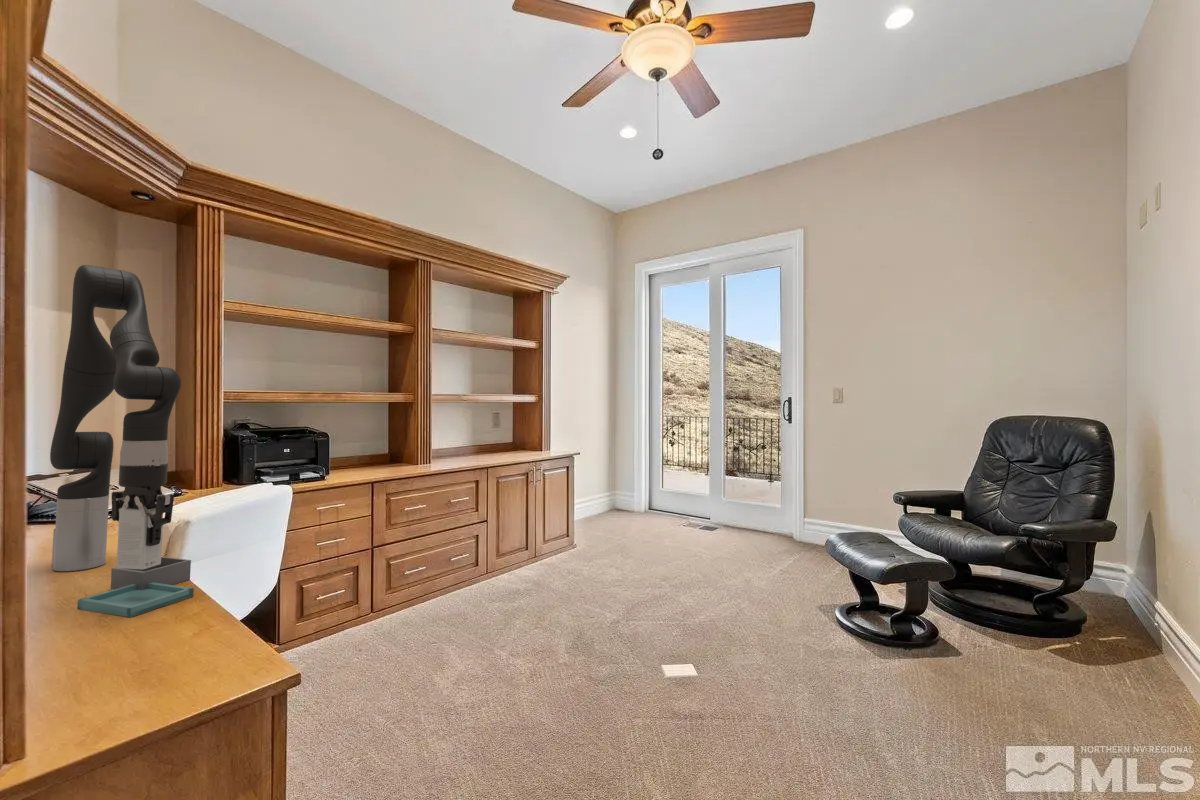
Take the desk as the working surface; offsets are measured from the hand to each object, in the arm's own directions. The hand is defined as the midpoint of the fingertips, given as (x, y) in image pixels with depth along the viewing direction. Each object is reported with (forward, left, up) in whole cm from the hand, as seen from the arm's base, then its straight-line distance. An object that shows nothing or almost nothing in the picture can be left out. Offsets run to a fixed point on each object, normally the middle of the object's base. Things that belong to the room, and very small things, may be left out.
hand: (140, 543), depth 108 cm
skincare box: (0, 0, -5) cm, 5 cm away
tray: (0, 0, -12) cm, 12 cm away
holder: (-9, +9, -12) cm, 17 cm away
